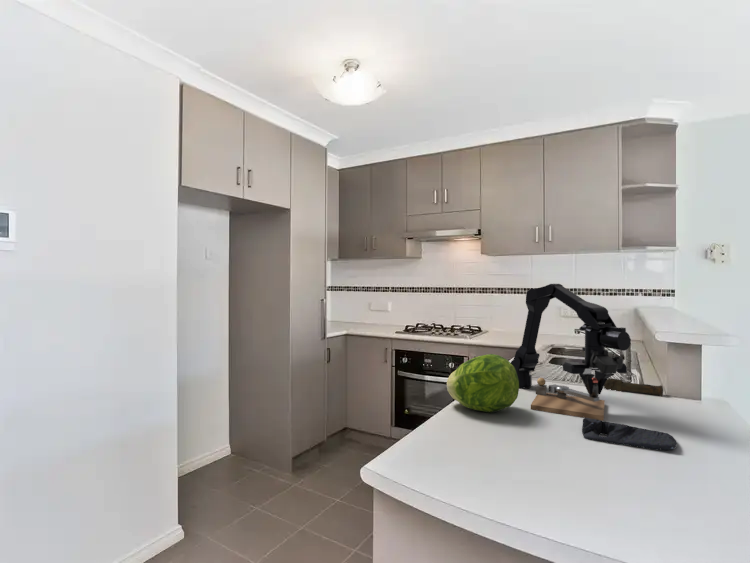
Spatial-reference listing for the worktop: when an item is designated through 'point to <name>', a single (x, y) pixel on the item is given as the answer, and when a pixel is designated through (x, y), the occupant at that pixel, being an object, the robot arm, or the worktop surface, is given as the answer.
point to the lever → (586, 396)
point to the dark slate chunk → (627, 435)
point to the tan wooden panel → (566, 403)
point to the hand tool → (633, 387)
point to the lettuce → (484, 383)
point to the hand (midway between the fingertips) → (594, 394)
